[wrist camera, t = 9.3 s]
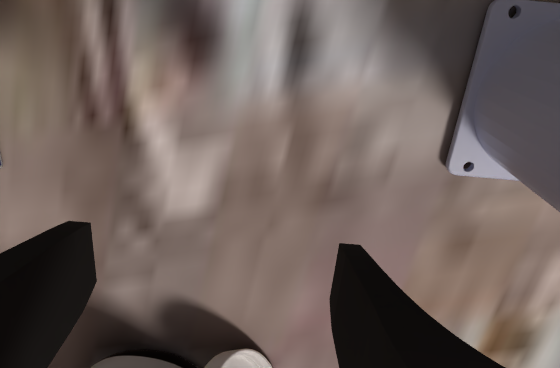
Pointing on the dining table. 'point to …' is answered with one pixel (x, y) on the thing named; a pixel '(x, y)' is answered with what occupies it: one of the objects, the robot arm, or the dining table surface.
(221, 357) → the spread jar
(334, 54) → the dining table surface
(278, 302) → the dining table surface
